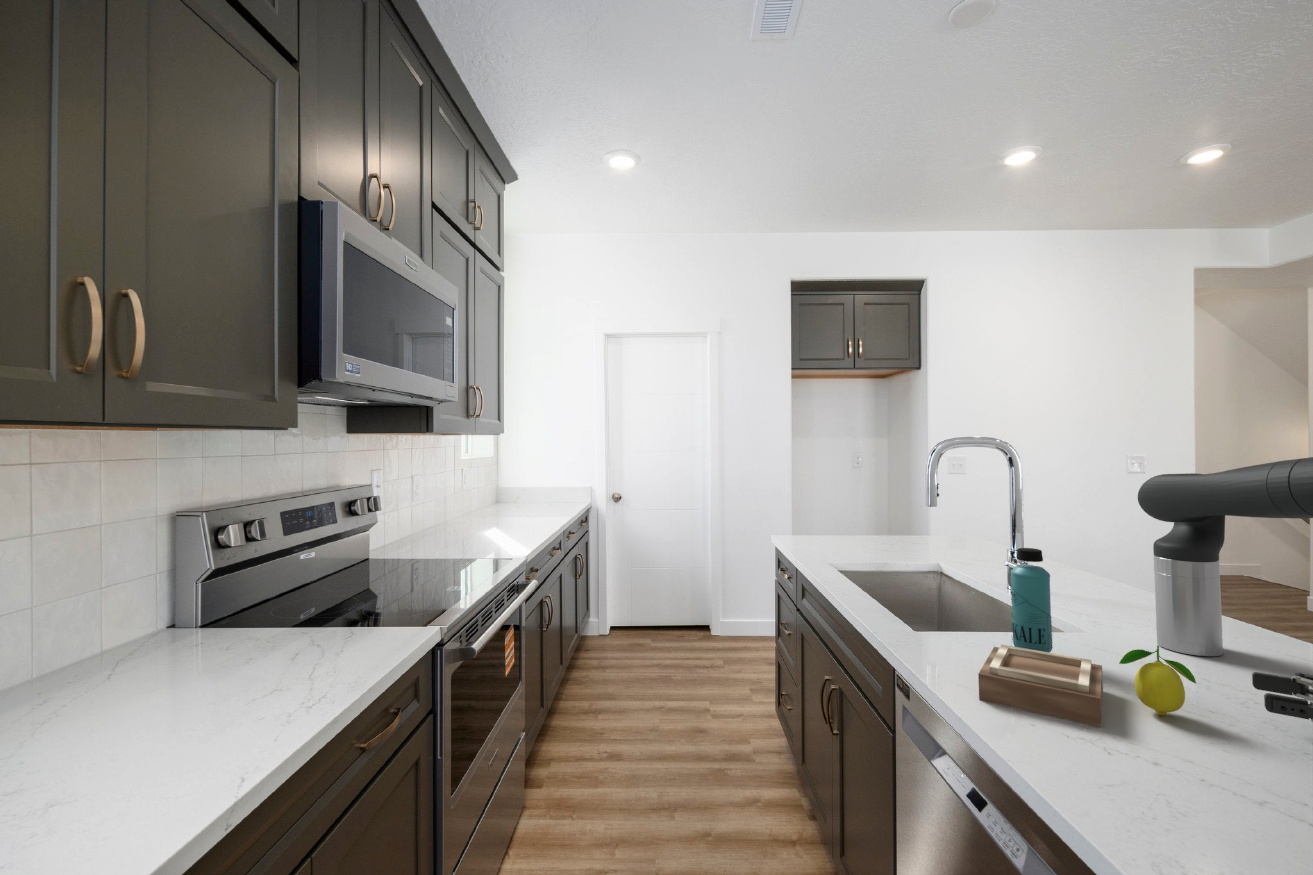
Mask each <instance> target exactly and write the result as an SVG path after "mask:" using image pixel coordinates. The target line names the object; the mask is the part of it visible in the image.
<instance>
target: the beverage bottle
mask: <svg viewBox="0 0 1313 875" xmlns="http://www.w3.org/2000/svg"><path fill="white" fill-rule="evenodd" d="M1016 560H1018V561H1021V562H1029V563H1030V562H1031V563H1040V562H1041V563H1042V562H1044V557H1043V551H1042V549H1040V548H1039V549H1038V548H1033V547H1020V548H1017V550H1016ZM1010 575H1011V577H1010V578H1011V579H1010V580H1011V582H1010V587H1011V588H1010V595H1011V596H1010V601H1011V607H1010V608H1011V612H1010V614H1011V631H1012V636H1011V638H1012V640H1011V641H1012V643H1013V647H1019V648H1025V649H1031V650H1037V651H1043V652H1048V653H1052V651H1053V647H1054V646H1053V645H1054V643H1053V642H1054V641H1053V637H1054V636H1053V635H1054V634H1053V627H1052V626H1053V625H1052V624H1053V623H1052V609H1051V606H1052V605H1051V574H1050V573H1049V571H1048V570H1046V569H1045V568H1044V567H1042V566H1040V565H1039V566H1038V565H1035V564H1034V565H1031V564H1018V565H1016V566H1015V567H1013V568H1012V569H1011V570H1010Z"/></svg>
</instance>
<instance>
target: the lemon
mask: <svg viewBox="0 0 1313 875" xmlns="http://www.w3.org/2000/svg"><path fill="white" fill-rule="evenodd" d="M1155 653H1156V660H1155V661H1153V662H1147V663H1145V664H1143V665H1141V666H1140V667H1139V668H1138V670H1137V672H1136V675H1135V678H1134V690H1135V693H1136V696H1137V698H1138V700H1139V701H1140V702H1141V703H1142V704H1143V705H1144V706H1146V707H1148V708H1150V709H1152V710H1154V711H1155V713H1157V715H1159V716H1165V715H1166V714H1167V713H1174V712H1176V711H1178V710H1180V709H1181V708H1183V706H1184V704H1185V700H1186V691H1185V687H1184V683H1183V681H1182V678H1181V677H1180V675H1181V676H1182V677H1184V678H1185V679H1187V680H1188V681H1190V682H1192V683H1193V684H1194V685H1196V684H1197V681H1196V678H1195V676H1194V674H1193V673H1192V671H1191V670H1190V669H1189V668H1188V667H1187V666H1185V665H1184V664H1182V663H1181V662H1178V661H1175V660H1170V659H1164V658H1163V657H1161V655H1160V645H1158V644H1157V645H1156V650H1155V651H1149V650H1145V649H1133V650H1129V651H1128V652H1127V653H1125V654H1124V655H1123V656H1122V657H1121V659H1120V661H1119V663H1118V664H1120V665H1126V664H1131V663H1134V662H1137V661H1140V660H1142V659H1145V658H1147V657H1150V656H1151V655H1152V654H1155ZM1160 659H1162V661H1161V660H1160ZM1163 661H1164V662H1165V663H1166V664H1165V663H1163ZM1178 673H1179V674H1180V675H1179V674H1178Z"/></svg>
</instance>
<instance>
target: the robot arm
mask: <svg viewBox="0 0 1313 875" xmlns="http://www.w3.org/2000/svg"><path fill="white" fill-rule="evenodd" d="M1137 502H1138V505H1139V506H1140V508H1141V510H1142V511H1143V512H1144V513H1146V514H1147V515H1148V516H1150V517H1152V518H1153V519H1156V520H1158V521H1161V522H1166V523H1173V527H1172V528H1171V530H1170V531H1169V532H1168V533H1166V534H1165V535H1164V536H1162V537H1160V538H1158V539H1156V540H1155V541H1154V542H1153V545H1152V546H1153V547H1152V548H1153V552H1152V553H1153V570H1154V571H1153V572H1154V592H1155V593H1154V596H1155V599H1154V600H1155V621H1156V622H1155V625H1156V627H1155V628H1156V643H1157V645H1159V647H1162V648H1163V649H1166V650H1170V651H1174V652H1175V653H1176V652H1177V653H1180V654H1187V655H1192V656H1193V655H1194V656H1201V657H1220V656H1222V655H1223V654H1224V646H1223V642H1224V641H1223V620H1222V619H1223V618H1222V615H1223V614H1222V613H1223V612H1222V595H1221V594H1222V593H1221V591H1222V590H1221V575H1220V552H1221V550H1222V548H1223V547H1224V544H1225V543H1224V542H1225V540H1226V539H1225V538H1226V537H1225V536H1226V530H1225V528H1226V516H1231V517H1242V518H1243V517H1244V518H1246V517H1247V518H1260V519H1261V518H1262V519H1263V518H1265V519H1313V456H1311V457H1310V456H1309V457H1303V458H1295V459H1294V458H1293V459H1285V460H1281V461H1280V460H1279V461H1273V462H1268V463H1261V464H1254V465H1249V466H1244V467H1238V468H1233V469H1229V470H1224V471H1218V472H1213V473H1212V472H1211V473H1204V474H1203V473H1193V472H1192V473H1164V474H1163V473H1162V474H1158V475H1154V476H1152V477H1150V478H1149V479H1147V480H1146V481H1144V482H1143V483H1142V484H1141V486H1140V488H1139V490H1138V492H1137ZM1294 674H1295V675H1291V677H1289V676H1283V675H1276V674H1270V673H1263V672H1259V671H1258V672H1252V673H1251V680H1252V686H1253V688H1254V689H1256V690H1259V691H1264V692H1267V693H1264V694H1263V697H1264V698H1263V699H1264V700H1263V701H1264V702H1263V703H1264V708H1265V709H1266V711H1267V712H1269V713H1271V714H1276V715H1277V714H1278V715H1282V716H1287V717H1294V718H1297V719H1304V720H1310V722H1312V723H1313V674H1308V673H1302V672H1295V673H1294ZM1310 687H1311V688H1312V689H1311V688H1310ZM1268 692H1269V693H1268ZM1286 695H1287V696H1286ZM1293 696H1294V697H1293Z"/></svg>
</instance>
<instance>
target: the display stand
mask: <svg viewBox="0 0 1313 875" xmlns="http://www.w3.org/2000/svg"><path fill="white" fill-rule="evenodd" d="M977 675H978V677H977V678H978V700H980V701H983V702H986V703H987V702H988V703H992V704H996V705H1001V706H1005V707H1010V708H1013V709H1017V710H1018V709H1019V710H1023V711H1028V712H1032V713H1035V714H1036V713H1037V714H1040V715H1044V716H1049V717H1054V718H1058V719H1062V720H1067V721H1070V722H1071V721H1072V722H1075V723H1081V724H1085V725H1088V726H1092V727H1098V728H1102V720H1103V719H1102V718H1103V717H1102V716H1103V715H1102V714H1103V698H1104V695H1103V694H1104V684H1103V682H1104V681H1103V665H1102V664H1096V663H1092V659H1088V658H1082V657H1077V656H1071V655H1065V654H1059V653H1053V652H1049V653H1048V652H1043V651H1037V650H1031V649H1025V648H1019V647H1015V646H1014V645H1013V646H1012V645H1007V644H1001V645H1000V646H998V647H997V646H993V647H992V649H991V651H990V654H988V657H987V658H986V660H985V662H984V663H983V665H982V666H981V669H980V670H979V672H978V673H977Z"/></svg>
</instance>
